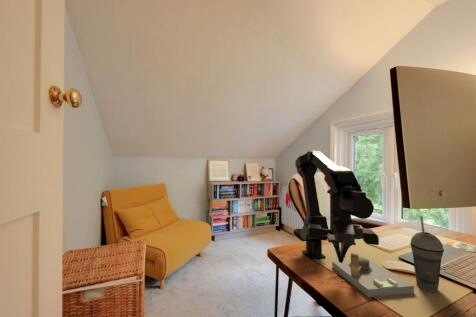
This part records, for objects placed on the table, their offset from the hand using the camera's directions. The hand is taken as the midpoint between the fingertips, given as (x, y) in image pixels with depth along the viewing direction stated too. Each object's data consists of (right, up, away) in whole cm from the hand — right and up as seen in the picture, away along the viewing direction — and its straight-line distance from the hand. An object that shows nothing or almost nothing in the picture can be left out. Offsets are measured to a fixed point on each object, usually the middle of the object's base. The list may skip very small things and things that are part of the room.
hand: (340, 262), depth 63 cm
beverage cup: (+23, -6, -3) cm, 24 cm away
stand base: (+9, -6, +1) cm, 11 cm away
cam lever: (+7, -3, +2) cm, 8 cm away
